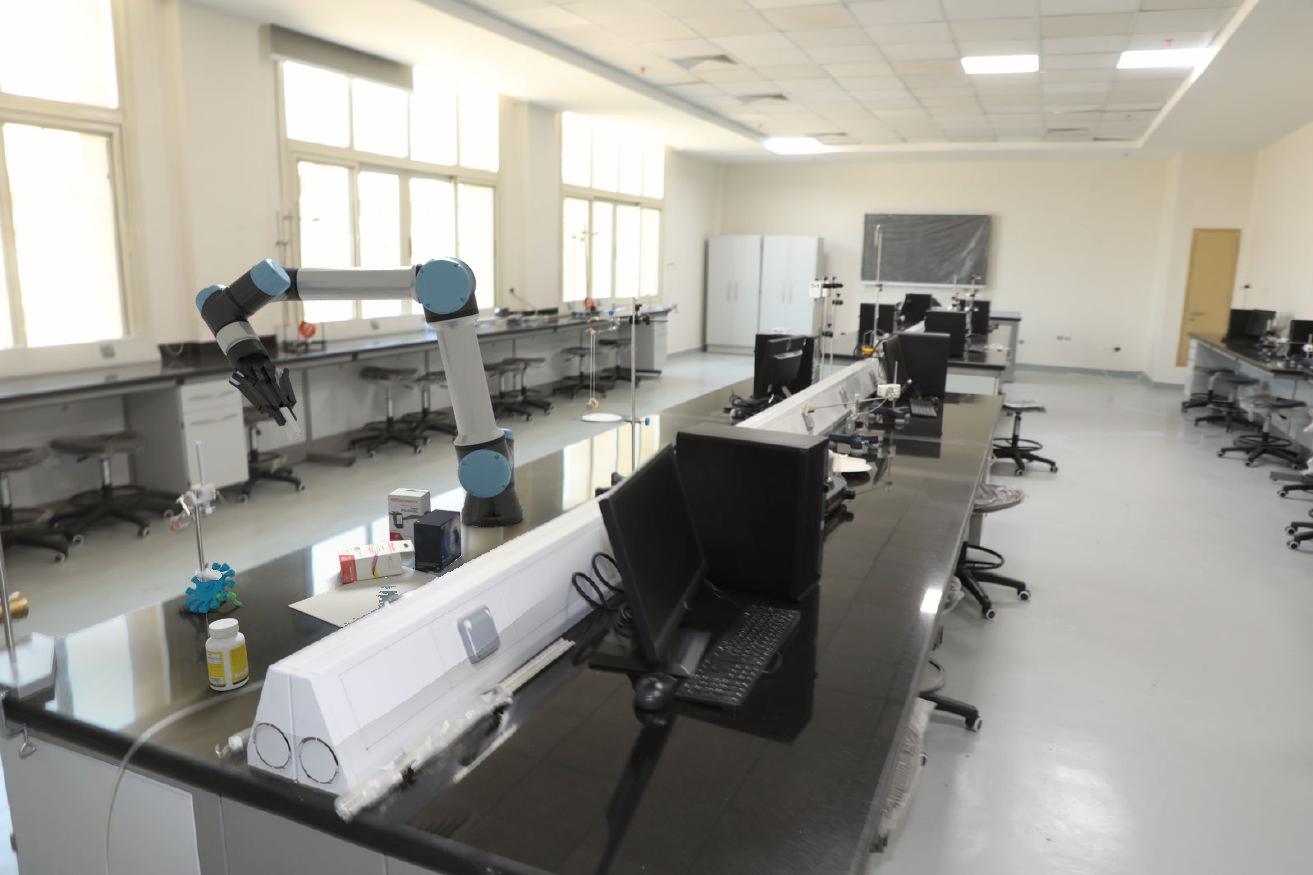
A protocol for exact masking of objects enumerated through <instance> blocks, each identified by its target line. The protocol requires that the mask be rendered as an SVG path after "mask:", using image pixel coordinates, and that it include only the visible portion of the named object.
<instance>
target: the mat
mask: <svg viewBox="0 0 1313 875" xmlns="http://www.w3.org/2000/svg"><path fill="white" fill-rule="evenodd" d="M401 566H402V574H396V575H389V576H383V577H377V578H371V579H365V580H360V581H354V582H348V583H346V584H344V585H341V586H339V587H336V588H333V589H331V590H327V591H325V592H322V593H319V594H317V595H314V596H311V597H308V598H306V599H305V598H304V599H302V600H300V601H297V602H294V603H291V604H288V605H287V606H288V607H289V608H291V609H294V610H296V611H299V612H300V613H303V614H306V615H308V616H311V617H314V618H316V619H318V620H321V621H324V622H326V623H328V624H331V625H332V626H336V627H338V628H341V627H344V626H345V625H347V624H348V623H352V622H353V621H355V620H356V619H357V618H361V617H362V616H363V615H366V614H368V613H371V611H373V610H375V609H378V608H379V606H378V605H380V603H383V602H380V603H379V600H382V598H380V596H379V597H378V595H388V593H387V594H383V593H382V592H381V593H379V592H380V591H397V593H395V594H398V595H400V594H402V593H404V592H406V591H411V590H412V589H415V588H417V587H419V586H422V585H425V584H426V583H427V582H431V581H432V580H434V579H435V578H436V577H437V576H436V575H434V574H430V573H426V572H423V571H421V570H415V568H414V569H413V568H411V567H408V566H404V565H402V564H401ZM385 577H387V578H385ZM394 577H395V578H394ZM354 586H355V587H354ZM380 586H396V587H392V588H391V587H390V589H389V588H388V589H386V588H385V587H384V588H381V587H380ZM376 595H377V596H376ZM380 606H382V605H380ZM353 618H355V619H353ZM344 623H347V624H344Z"/></svg>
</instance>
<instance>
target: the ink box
mask: <svg viewBox="0 0 1313 875" xmlns="http://www.w3.org/2000/svg"><path fill="white" fill-rule="evenodd" d="M431 507H432V505H431V491H430V490H427V489H416V488H404V487H403V488H402V487H399V488H396V489H395V490H393V491H391V492H389V493H388V494H387V508H388V510H387V511H388V532H389V542H390V541H402V540H411V542H412V544H413V546H414V527H413V523H414V522H415V521H417V520H419V519H420V518H422V517H423V516H425V515H427V514H428V513H430V512H431V511H432V508H431Z"/></svg>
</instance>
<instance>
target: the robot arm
mask: <svg viewBox="0 0 1313 875" xmlns="http://www.w3.org/2000/svg"><path fill="white" fill-rule="evenodd" d="M476 290H477V280H476V275H475V273H474V271H473V269H472V268H471V267H470V266H469V264H467V263H466V262H465V261H463V260H461V259H459V258H456V257H450V256H441V257H440V256H439V257H435V258H431V259H430V260H428V261H416V262H415V263H414V264H413V265H411V266H345V267H343V266H336V267H334V266H333V267H325V266H324V267H281V266H280V265H279V263H277V262H276V261H274V260H273V259H272V258H271V259H270V258H265V259H263V260H261V261H260V262H259V263H257V264H254V265H252V267H250V269H248V270H247V271H246V272H245V273H243V274H242V275H241V276H240V277H239V278H237V279H236V280H235V281H233V282H232V283H230V285H228V286H226V285H223V284H212V285H210V286H209V287H208V286H207V287H204V288H202V289H201V290H200V291H199V292H197V295H196V297H195V300H194V301H195V305H196V307H197V309H198V311H199V314H200V318H202V320H203V321H204V322H205V324H206V326H207V327H208V329H209V330H210V332H211V334H212V335H213V337H214V339H215V340H216V342H217V344H218V346H219V347H220V349H221V351H222V352H223V354H224V356H226V359H227V361H228V363H229V364H230V366H231V368H232V370H234V372H233V373H232V375H231V376H230V379H229V380H228V383H229V384H230V385H232V386H233V387H235V388H237V390H239V392H240V393H241V394H242V395H243V396H244V397H245V398H246V399H247V401H248V402H249V403H250V404H251V405H252V406H253V407H254V408H255V409H256V411H258V412H259V413H260V414H262V415H265V414H268V415H267V417H268V418H270V419H271V418H273V419H274V421H275V422H276V424H277V426H279V427H281V428H282V430H284V432H285V434H286V435H287V437H288V439H289V440H290V441H296V440H297V439H298V438H299V437H300V435H301V434H302V432H303V431H302V429H301V427H300V425H298V422H297V421H298V418H297V416H296V414H295V413H294V411H293V409H294V407H295V406H296V404H297V402H298V401H297V397H296V395H295V392H294V389H293V386H292V382H291V380H290V379H291V378H290V377H289V376H290V369H289V368H287V367H284V368H283V369H281V368H278V367H277V366H276V364H275V363H273V361H271V360H270V355H269V353H268V350H267V349H266V348H265V346H264V344H263V342H262V341H261V339H260V338H259V336H258V334H257V333H256V331H255V330H254V328H253V327H252V325H251V323H250V322H249V320H248V319H250V318H251V317H252V316H253V315H255V314H256V313H258V312H259V311H260V310H261V309H263V308H264V307H265V306H268V304H271V303H272V304H273V303H277V302H302V301H304V302H305V301H309V302H310V301H312V302H313V301H386V300H387V301H392V300H393V301H395V300H397V301H398V300H401V301H402V300H408V301H409V300H413V301H415V302H416V303H417V304H419V305H422V308H423V313H424V317H425V318H424V319H425V321H426V325H428V326H429V327H431V328H432V329H434V331H435V334H436V338H437V344H438V348H439V353H440V356H441V361H442V365H443V368H444V369H443V370H444V374H445V378H446V384H447V387H448V392H449V396H450V401H451V405H452V409H453V414H454V419H455V423H456V428H457V432H458V435H457V436H456V438H454V441H453V446H454V449H455V454H456V459H457V463H458V467H457V478H458V481H459V484H460V485H461V487H462V489H463V490H464V491H465V492H466V494H465V498H464V502H463V507H462V508H461V511H460V514H461V523H462V524H464V525H467V526H469V527H474V528H500V527H506V526H510V525H513V524H517V523H519V522H521V521H522V520H523V518H524V514H523V507H522V504H520V499H519V496H518V492H517V489H516V483H515V481H516V480H515V478H516V477H515V476H516V475H515V444H514V443H515V437H514V432H513V430H511V429H510V428H503V427H501V428H500V427H498V426H497V425H496V419H495V413H494V409H493V405H492V401H491V395H490V392H489V387H488V382H487V377H486V372H485V368H484V362H483V359H482V354H481V350H480V349H481V348H480V345H479V339H478V335H477V334H478V333H477V330H476V325H475V322H476V320H477V319H478V317H480V311H479V305H478V302H477V297H476ZM275 375H276V376H275ZM277 380H278V382H277ZM522 517H523V518H522ZM521 519H522V520H521ZM516 522H517V523H516Z"/></svg>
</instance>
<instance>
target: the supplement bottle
mask: <svg viewBox="0 0 1313 875" xmlns="http://www.w3.org/2000/svg"><path fill="white" fill-rule="evenodd" d="M239 628H240V626H239V621H238V620H237V619H236V618H232V617H231V618H228V617H227V618H221V619H217V620H215V621H213V622H211V623H210V624H208V633H209V636H210V637H209V638H208V639H207V640H206V642H205V655H206V664H207V671H208V681H209V685H210V688H211V689H212V690H215V691H218V692H219V691H225V692H226V691H230V690H234V689H237V688H241V687H242V686H243V685H245V684H246V683H247V682H248V681H249V679H250V676H249V675H250V674H249V663H248V654H247V646H246V639H245V638H246V637H245V636H244V634H243V633H242V632H239Z"/></svg>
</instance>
